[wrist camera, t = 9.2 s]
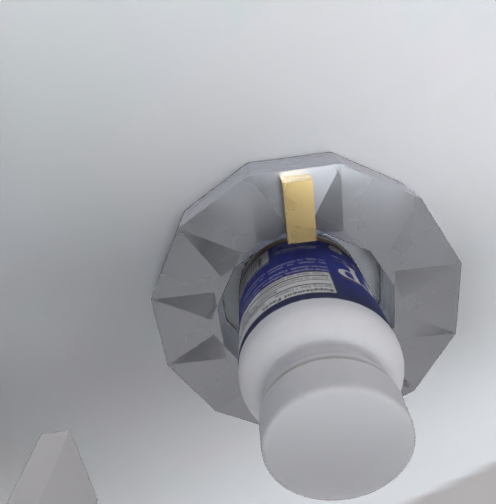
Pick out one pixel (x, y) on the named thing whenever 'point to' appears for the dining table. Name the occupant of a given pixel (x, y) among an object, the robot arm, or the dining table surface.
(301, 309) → the pill bottle
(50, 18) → the dining table surface
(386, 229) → the hub
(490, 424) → the dining table surface
